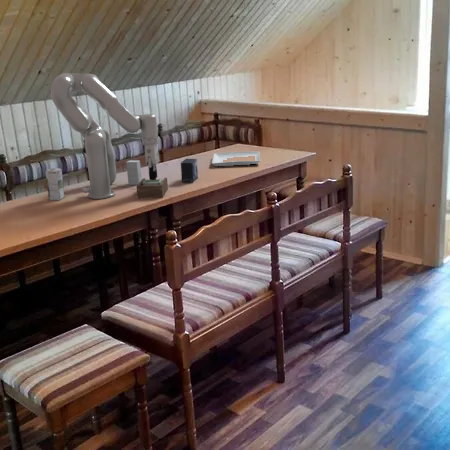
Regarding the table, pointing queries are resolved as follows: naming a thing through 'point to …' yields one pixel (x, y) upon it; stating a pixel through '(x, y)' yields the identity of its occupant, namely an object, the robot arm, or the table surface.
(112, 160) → the glass bottle
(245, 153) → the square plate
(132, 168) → the skincare box
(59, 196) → the syrup box
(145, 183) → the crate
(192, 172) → the small box
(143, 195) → the bay
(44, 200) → the table surface
